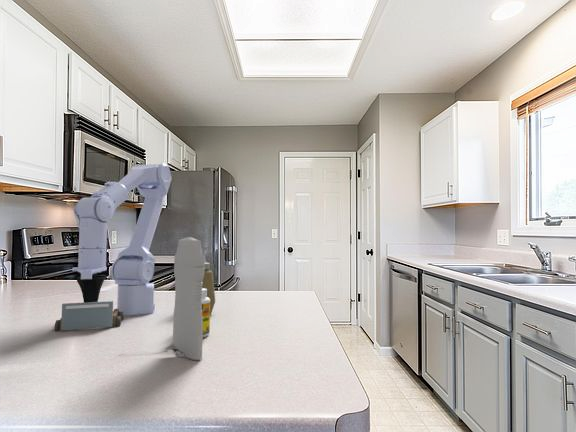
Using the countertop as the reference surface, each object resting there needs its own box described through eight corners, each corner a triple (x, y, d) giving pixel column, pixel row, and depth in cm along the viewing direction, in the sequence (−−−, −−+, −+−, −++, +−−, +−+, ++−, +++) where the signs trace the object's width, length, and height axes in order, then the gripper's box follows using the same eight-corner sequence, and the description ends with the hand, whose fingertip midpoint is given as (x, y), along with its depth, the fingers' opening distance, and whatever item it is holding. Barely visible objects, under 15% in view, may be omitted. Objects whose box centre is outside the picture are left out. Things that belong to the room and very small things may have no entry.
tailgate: (112, 325, 82) (113, 301, 83) (111, 327, 81) (112, 302, 82) (61, 329, 79) (62, 303, 79) (60, 330, 78) (61, 304, 78)
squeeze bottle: (183, 313, 103) (184, 249, 104) (211, 310, 107) (212, 249, 108) (188, 319, 96) (189, 251, 97) (218, 316, 99) (219, 250, 100)
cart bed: (123, 323, 91) (123, 308, 91) (119, 331, 83) (120, 315, 83) (63, 327, 87) (64, 311, 87) (54, 336, 79) (54, 319, 79)
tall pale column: (211, 358, 66) (213, 237, 67) (190, 364, 63) (193, 237, 64) (183, 345, 73) (185, 236, 75) (164, 349, 71) (166, 236, 72)
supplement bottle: (188, 340, 77) (189, 292, 77) (180, 334, 81) (181, 288, 82) (213, 336, 80) (214, 289, 80) (204, 331, 84) (205, 286, 85)
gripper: (79, 247, 90) (77, 302, 89) (65, 249, 76) (63, 314, 76) (111, 247, 92) (109, 300, 92) (102, 249, 79) (100, 312, 78)
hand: (90, 307), depth 84 cm, fingers closed
